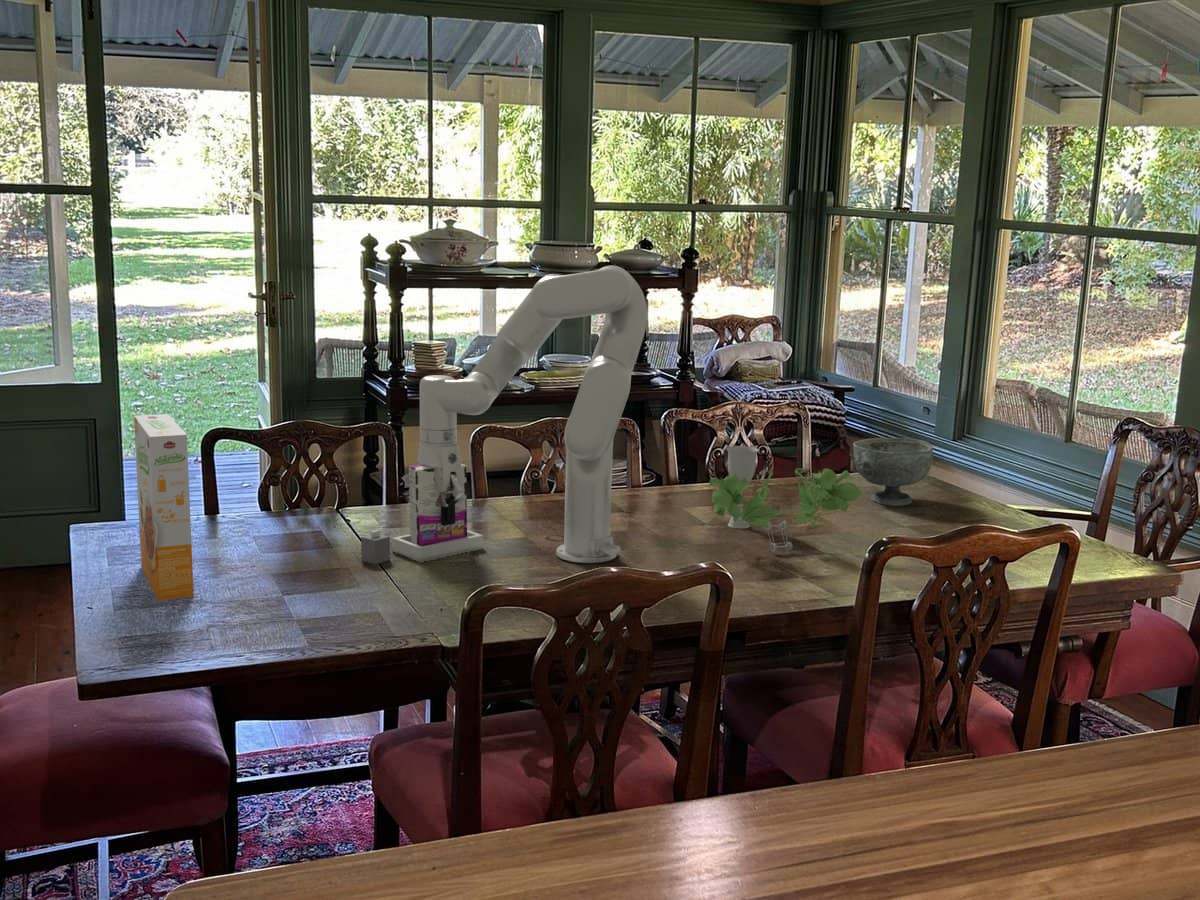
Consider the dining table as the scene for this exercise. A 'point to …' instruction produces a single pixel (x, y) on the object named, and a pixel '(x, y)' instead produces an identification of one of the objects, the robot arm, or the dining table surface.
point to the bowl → (893, 465)
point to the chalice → (741, 472)
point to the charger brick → (375, 548)
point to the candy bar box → (433, 509)
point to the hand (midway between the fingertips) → (438, 520)
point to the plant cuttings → (752, 511)
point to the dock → (436, 547)
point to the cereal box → (164, 505)
